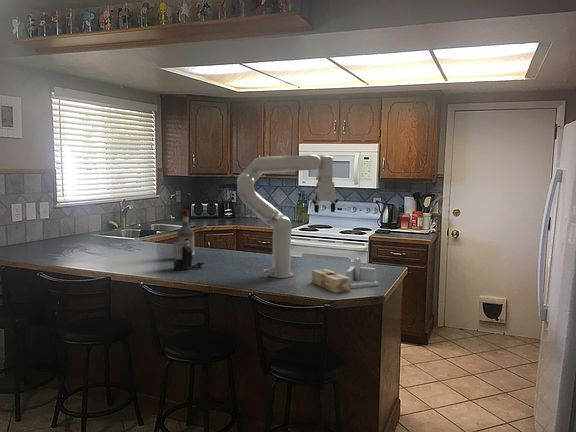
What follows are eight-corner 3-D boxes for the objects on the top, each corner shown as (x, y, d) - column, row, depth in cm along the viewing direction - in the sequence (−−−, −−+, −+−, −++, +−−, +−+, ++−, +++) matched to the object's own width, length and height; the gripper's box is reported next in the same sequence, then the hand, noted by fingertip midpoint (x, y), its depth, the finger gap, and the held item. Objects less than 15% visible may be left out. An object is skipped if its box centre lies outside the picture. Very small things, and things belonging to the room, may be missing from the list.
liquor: (177, 258, 297) (176, 209, 294) (191, 257, 301) (191, 209, 298) (180, 260, 289) (179, 211, 286) (195, 259, 292) (194, 210, 289)
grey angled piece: (350, 288, 225) (351, 273, 224) (336, 282, 236) (336, 267, 236) (380, 285, 232) (380, 270, 231) (365, 279, 244) (365, 265, 243)
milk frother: (169, 269, 263) (168, 243, 262) (188, 264, 277) (188, 239, 276) (189, 272, 256) (188, 245, 255) (207, 267, 270) (207, 241, 269)
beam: (334, 292, 217) (335, 279, 217) (312, 282, 237) (312, 270, 237) (349, 290, 221) (349, 278, 220) (326, 280, 241) (326, 268, 240)
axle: (356, 281, 233) (356, 259, 232) (352, 280, 236) (353, 258, 234) (361, 280, 234) (361, 258, 233) (357, 279, 237) (358, 257, 236)
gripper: (314, 179, 243) (313, 213, 244) (343, 179, 250) (342, 212, 252) (307, 179, 250) (306, 212, 251) (335, 179, 257) (335, 211, 259)
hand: (324, 212), depth 252 cm, fingers open, 9 cm apart
